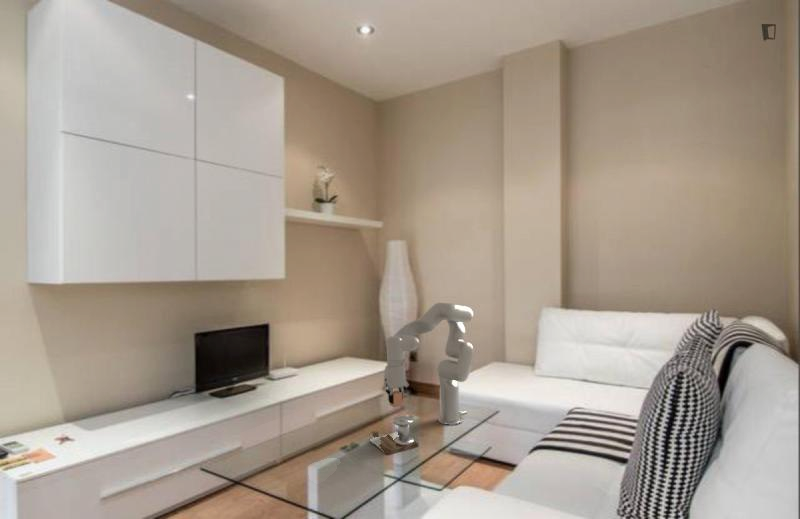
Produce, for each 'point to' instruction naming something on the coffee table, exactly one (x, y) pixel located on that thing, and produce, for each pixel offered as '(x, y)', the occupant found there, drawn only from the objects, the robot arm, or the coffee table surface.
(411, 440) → the bobbin
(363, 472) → the coffee table surface
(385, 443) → the winding board
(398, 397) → the orange brown block
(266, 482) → the coffee table surface
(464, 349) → the robot arm
